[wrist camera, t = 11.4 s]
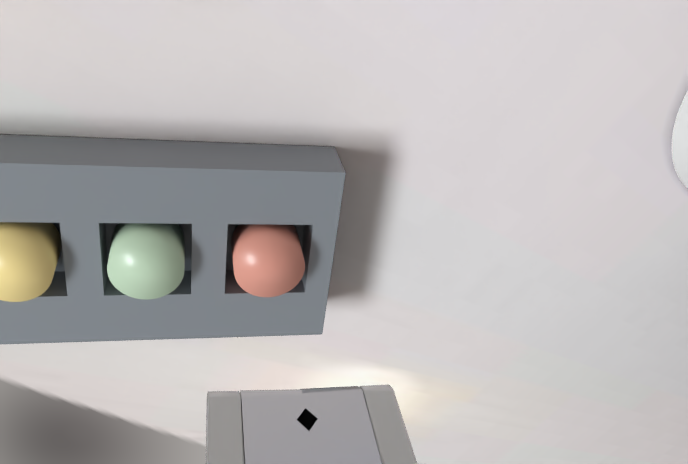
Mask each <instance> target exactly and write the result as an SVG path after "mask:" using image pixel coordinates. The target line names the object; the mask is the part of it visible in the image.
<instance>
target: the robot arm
mask: <svg viewBox="0 0 688 464" xmlns="http://www.w3.org/2000/svg"><path fill="white" fill-rule="evenodd" d="M671 150H672V160H673V165H674V168H675V171H676V173H677V175H678V177H679V179H680V181H681V182H682V183H683V185H684V186H685V187H686V188H687V189H688V91H687V93H686V95H685V97H684V99H683V101H682V104H681V106H680V109H679V111H678V114H677V117H676V120H675V124H674V128H673V134H672V145H671ZM206 464H417V461H416V458H415V455H414V452H413V449H412V446H411V443H410V440H409V436H408V433H407V430H406V427H405V424H404V421H403V418H402V415H401V412H400V409H399V406H398V403H397V400H396V396H395V393H394V390H393V388H392V387H391V386H390V385H372V386H360V387H358V386H351V387H331V388H311V389H300V390H240V393H239V391H212V392H208V394H207V414H206Z"/></svg>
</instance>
